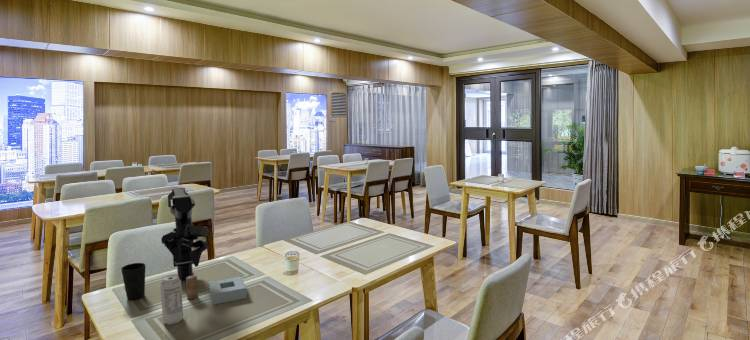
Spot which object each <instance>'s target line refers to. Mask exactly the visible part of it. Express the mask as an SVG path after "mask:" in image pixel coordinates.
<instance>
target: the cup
mask: <svg viewBox="0 0 750 340" xmlns="http://www.w3.org/2000/svg"><path fill="white" fill-rule="evenodd" d="M120 269H121V273H122V274H121V275H122V280H123V286H124V289H125V293H126V299H127V301H130V302H132V301H138V300H141V299H143V298H145V295H146V294H145V293H146V263H144V262H143V263H142V262H134V263H129V264H126V265H124V266H122V267H121V268H120Z"/></svg>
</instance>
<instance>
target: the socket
mask: <svg viewBox="0 0 750 340" xmlns="http://www.w3.org/2000/svg"><path fill="white" fill-rule="evenodd" d="M208 289H209V295H210V296H209V297H210V301H211V305H212V306H213V305H214V306H215V305H218V304H224V303H228V302H234V301H238V300H244V299H247V297H248V296H247V295H248V294H247V287H246V284H245V281H244V279H243V277H242V276H236V277H231V278H225V279H219V280H218V279H217V280H213V281H208Z"/></svg>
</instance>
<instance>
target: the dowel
mask: <svg viewBox="0 0 750 340" xmlns="http://www.w3.org/2000/svg"><path fill="white" fill-rule="evenodd" d="M185 282H186V296H187V300H188V301H195V300H197V299H198V298H199V293H198V292H199V290H198V275H194V276H189V277H187V278H186V280H185Z"/></svg>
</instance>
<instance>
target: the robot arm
mask: <svg viewBox="0 0 750 340" xmlns="http://www.w3.org/2000/svg"><path fill="white" fill-rule="evenodd" d="M167 205H168V208H169V209H170V210H169V211H170V213H171V214H172V215H173V216H174V223H175V228H173V229H172V230H173V231H170V232H168V233H166V234H163V235H162V236H161V238H160V239H161V240H160V241H161V244H163V245H164V247H165V248H166V249H167V250H168V251H169V252H170V254H171V255H172V264H173V267H174V268H176V271H177V275H178V276H179V279H180V280H181V282H182V281H183V282H184V281H186V278H187V277H189V276H195V273H194V272H193V270H194V269H193V265H194V267H198V266H199V264H200V261H201V256H202V253H203V252H204V251H206V250H207V249H209V242H207V241H205V240H201V239H199V238H203V237H204V238H206V237H208V236H209V235H210V234H211V232H210V228H209V227H207V226H202V225H193V220H192V219H193V218H192V214H193V209H194V207H195V206H196V203H195V200H194V199H193V197H191V196H190V194H189V193H188V192H187V191H186V189H185V187H175V188H171V192H170V193H169V194H168V195H167ZM198 239H199V240H198ZM195 240H197V241H195Z"/></svg>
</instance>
